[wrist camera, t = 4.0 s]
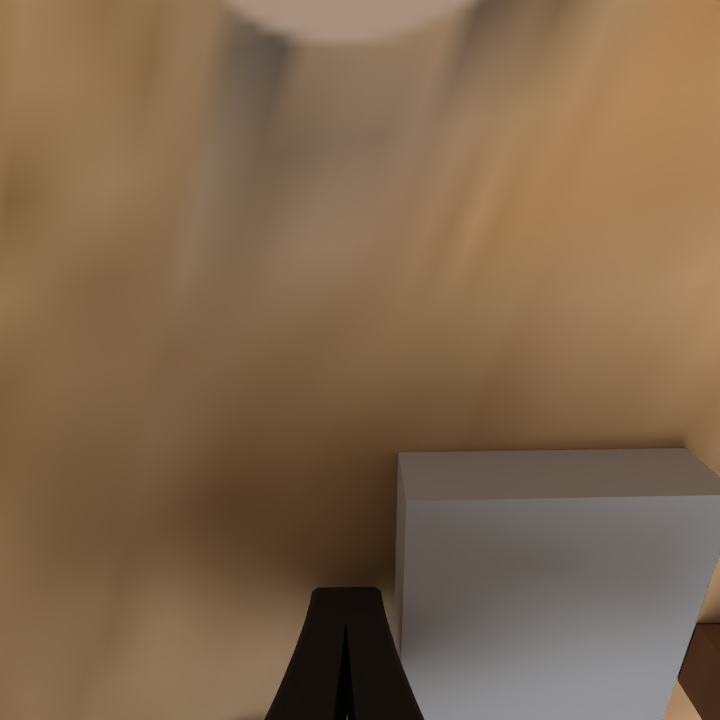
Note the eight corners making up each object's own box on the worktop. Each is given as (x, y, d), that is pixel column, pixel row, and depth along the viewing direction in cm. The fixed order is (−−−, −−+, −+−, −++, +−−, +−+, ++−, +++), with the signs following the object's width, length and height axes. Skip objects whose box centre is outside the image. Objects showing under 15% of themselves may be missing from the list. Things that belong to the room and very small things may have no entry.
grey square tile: (390, 667, 13) (397, 748, 11) (396, 441, 11) (406, 501, 9) (612, 661, 13) (654, 742, 12) (672, 436, 11) (739, 494, 9)
